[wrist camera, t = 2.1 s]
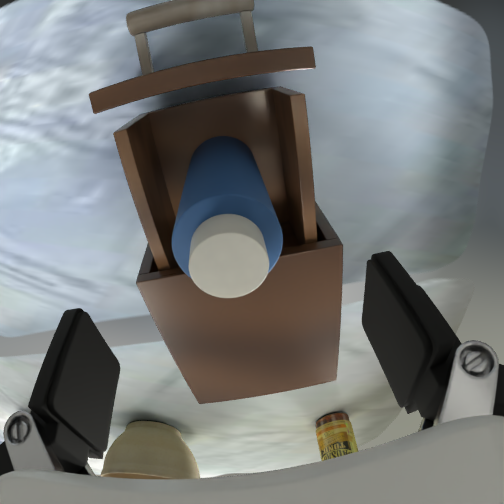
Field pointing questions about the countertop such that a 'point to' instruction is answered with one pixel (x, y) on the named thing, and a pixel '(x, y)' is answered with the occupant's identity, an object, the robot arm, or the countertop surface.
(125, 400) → the countertop surface
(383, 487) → the robot arm
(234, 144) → the bottle
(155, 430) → the planter bowl
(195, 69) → the drawer
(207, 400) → the cabinet
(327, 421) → the sauce bottle
